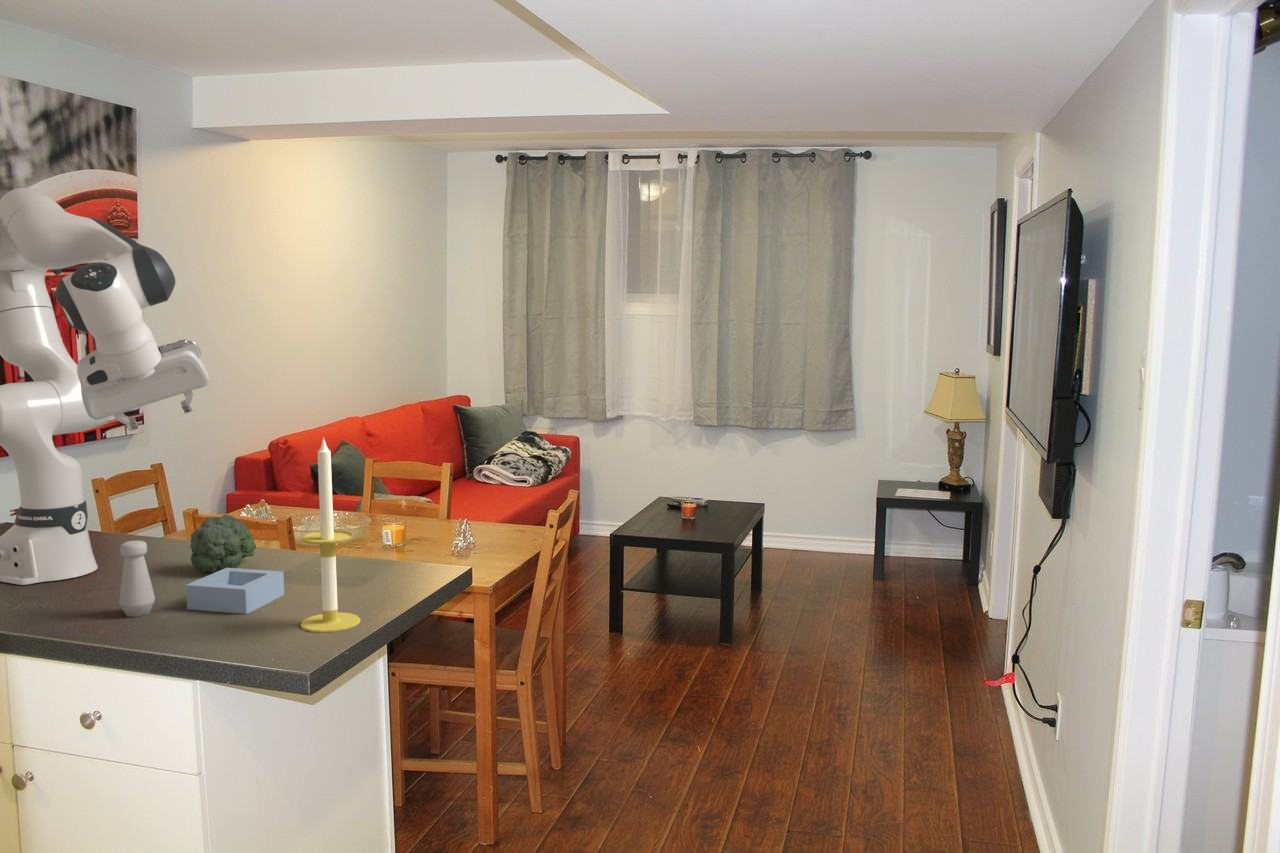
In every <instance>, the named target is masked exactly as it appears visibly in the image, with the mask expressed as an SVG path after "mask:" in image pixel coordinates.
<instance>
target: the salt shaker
mask: <svg viewBox="0 0 1280 853" xmlns="http://www.w3.org/2000/svg"><path fill="white" fill-rule="evenodd" d="M119 548H120V549H119V552H120V556H121V557H123V558H124V559H123V567H122V575H121V582H120V592H119V601H118V605H119V608H120V609H121V610H122V611H123V613H124V614H125V616H126V617H129V618H130V617H131V618H132V617H133V618H134V617H135V618H136V617H137V618H138V617H142V616H147V615H149V614H150V613H151V612H152V609H153V607H154V604H155V600H156V595H155V591H154V588H153V584H152V580H151V577H150V573H149V569H148V564H147V562H146V559H145V558H146V557H145V555H146V554H147V553H148V544H147V542H145V541H143V540H129V541H125V542H123V543H121V545H120V547H119Z"/></svg>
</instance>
